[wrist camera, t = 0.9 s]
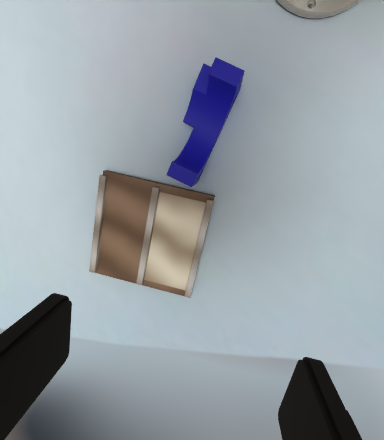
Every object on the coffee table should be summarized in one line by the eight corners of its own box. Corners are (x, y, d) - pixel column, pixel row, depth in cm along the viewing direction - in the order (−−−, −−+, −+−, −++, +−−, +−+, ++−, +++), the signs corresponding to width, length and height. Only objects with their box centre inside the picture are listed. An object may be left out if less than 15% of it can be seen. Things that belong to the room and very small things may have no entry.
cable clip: (205, 73, 28) (201, 50, 22) (239, 89, 28) (244, 70, 22) (166, 167, 31) (153, 169, 25) (197, 182, 31) (191, 187, 25)
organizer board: (106, 170, 32) (100, 171, 30) (214, 195, 31) (214, 197, 29) (95, 268, 36) (89, 274, 34) (190, 293, 35) (189, 300, 33)
